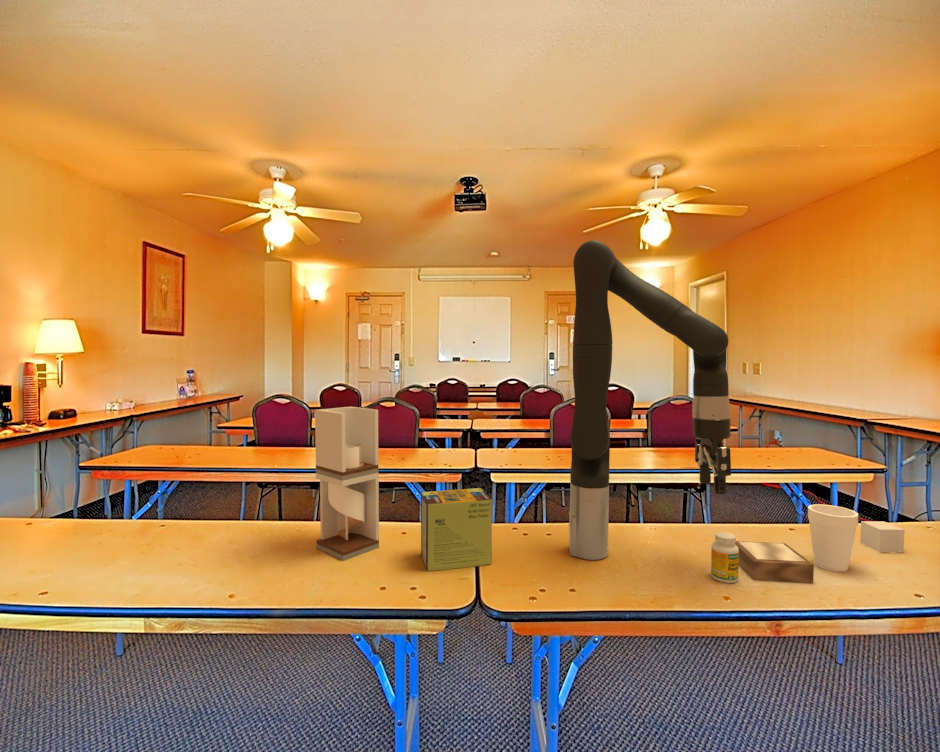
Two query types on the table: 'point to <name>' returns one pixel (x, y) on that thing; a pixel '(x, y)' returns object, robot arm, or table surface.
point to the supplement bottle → (725, 558)
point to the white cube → (882, 536)
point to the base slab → (774, 562)
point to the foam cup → (832, 535)
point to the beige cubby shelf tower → (348, 480)
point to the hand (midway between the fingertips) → (712, 488)
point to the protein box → (456, 529)
